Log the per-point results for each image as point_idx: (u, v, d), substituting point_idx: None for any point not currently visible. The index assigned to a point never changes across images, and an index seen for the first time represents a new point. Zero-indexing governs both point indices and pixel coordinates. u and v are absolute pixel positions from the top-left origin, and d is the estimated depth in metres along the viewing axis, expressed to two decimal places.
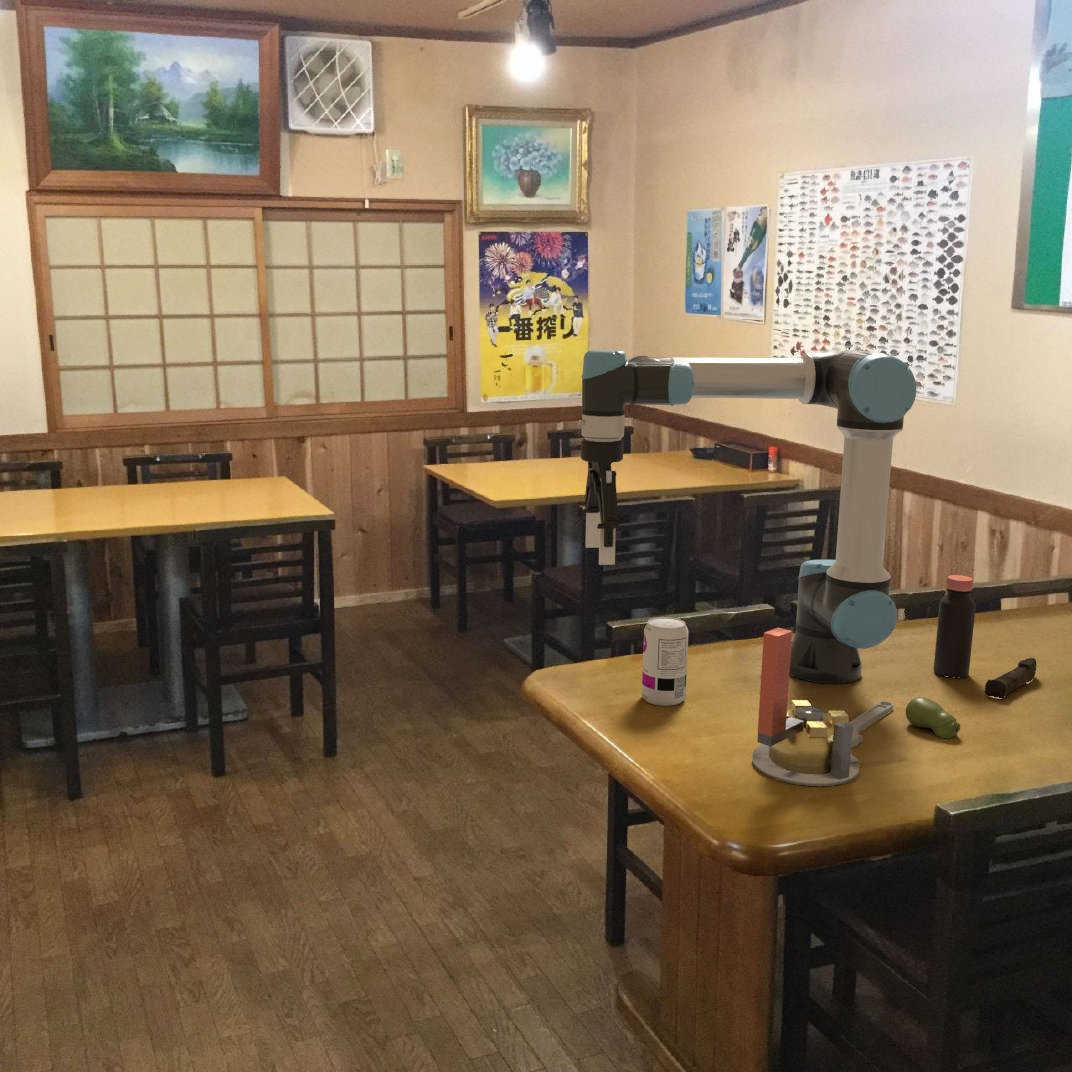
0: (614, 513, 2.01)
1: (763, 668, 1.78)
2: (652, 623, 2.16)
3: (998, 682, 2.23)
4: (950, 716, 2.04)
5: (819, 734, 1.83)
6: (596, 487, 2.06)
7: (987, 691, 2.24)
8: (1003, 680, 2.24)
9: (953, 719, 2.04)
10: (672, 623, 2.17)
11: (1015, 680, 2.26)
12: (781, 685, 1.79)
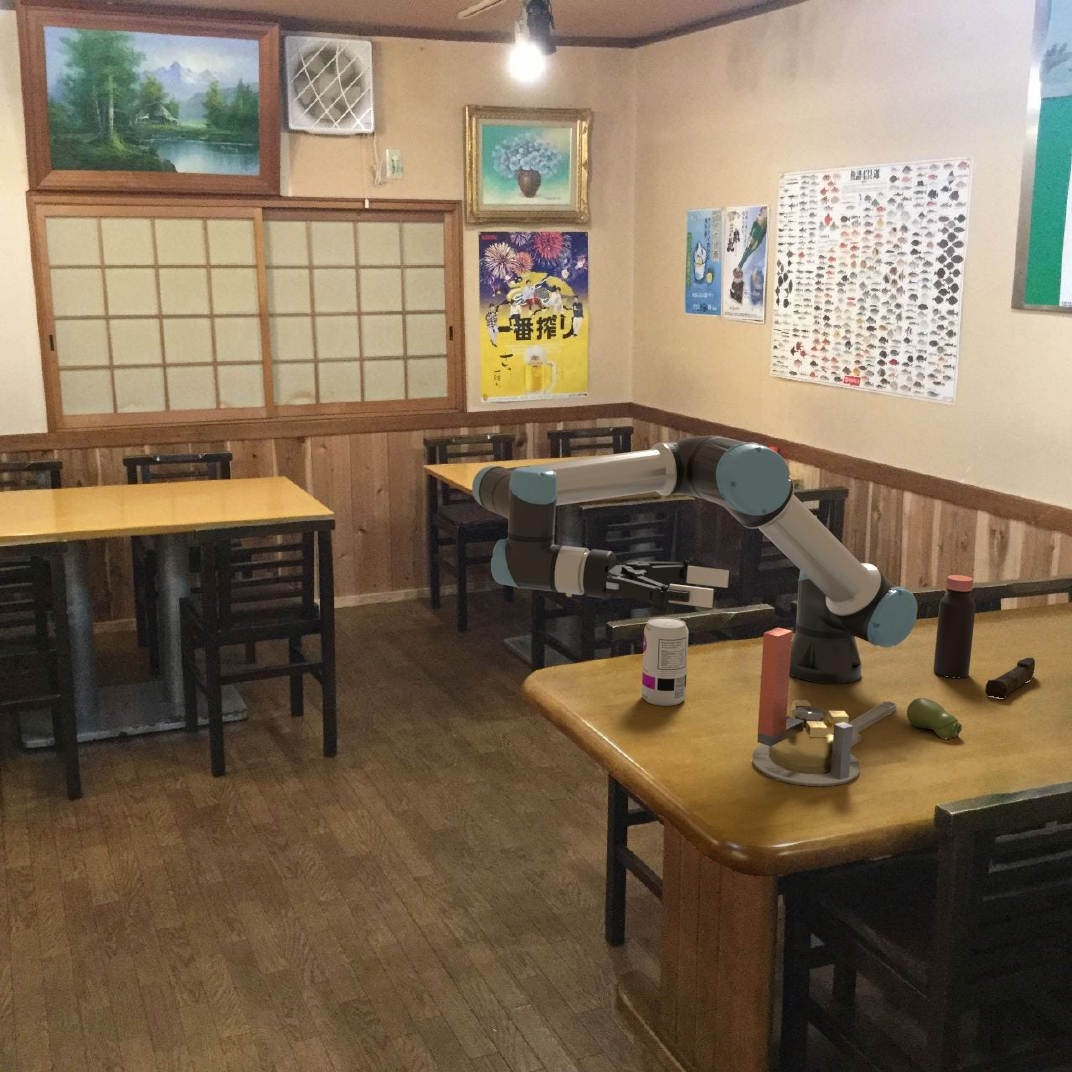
0: (645, 590, 1.74)
1: (763, 668, 1.78)
2: (652, 623, 2.16)
3: (999, 682, 2.22)
4: (951, 717, 2.04)
5: (819, 734, 1.83)
6: None
7: (988, 691, 2.24)
8: (1004, 680, 2.24)
9: (954, 720, 2.03)
10: (672, 623, 2.17)
11: (1015, 680, 2.26)
12: (781, 685, 1.79)
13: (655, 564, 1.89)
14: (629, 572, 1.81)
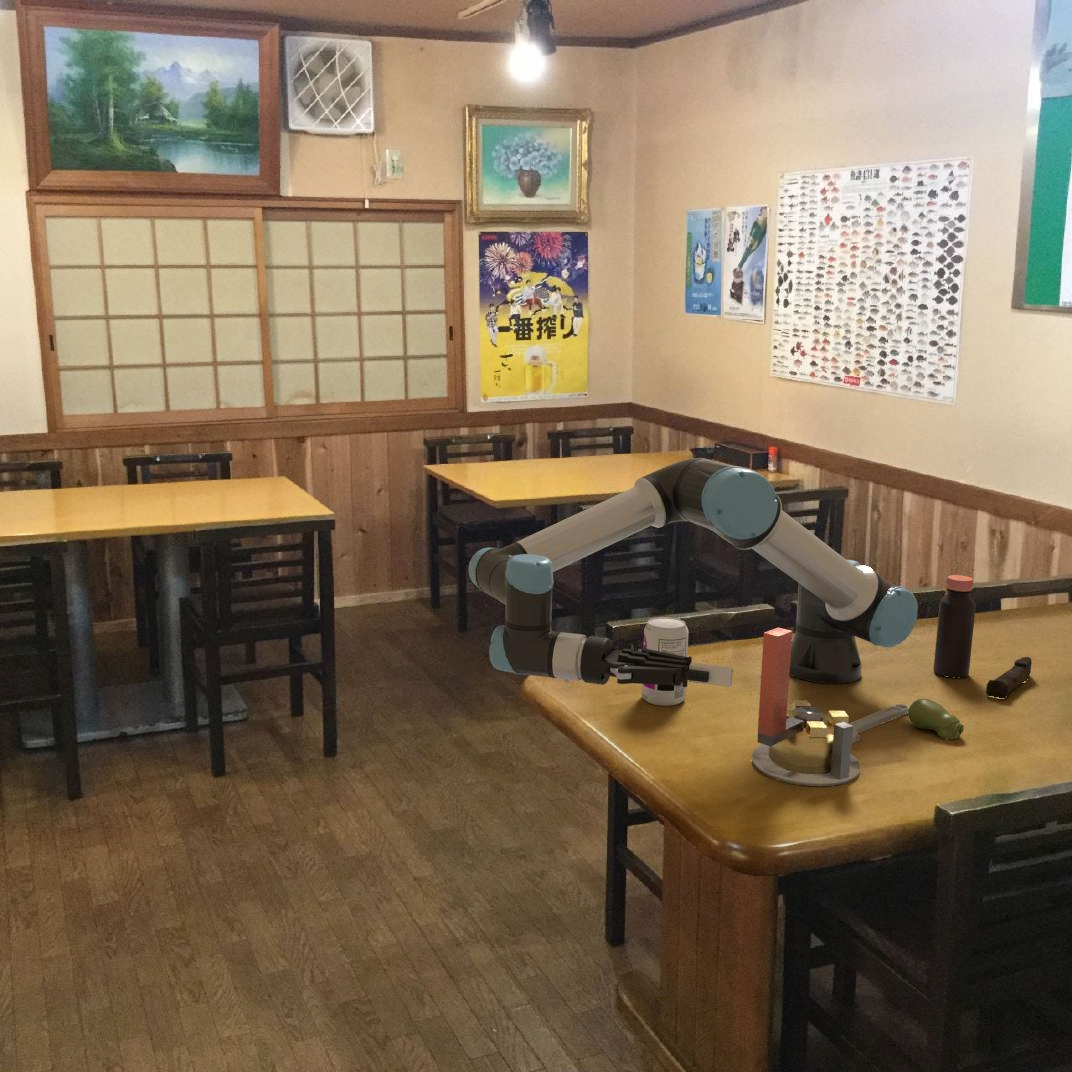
0: (667, 673, 1.80)
1: (763, 668, 1.78)
2: (652, 623, 2.16)
3: (1000, 682, 2.22)
4: (953, 717, 2.03)
5: (819, 734, 1.83)
6: None
7: (989, 691, 2.24)
8: (1004, 680, 2.24)
9: (956, 720, 2.03)
10: (672, 623, 2.17)
11: (1015, 679, 2.26)
12: (781, 685, 1.79)
13: (657, 654, 1.88)
14: (633, 659, 1.84)
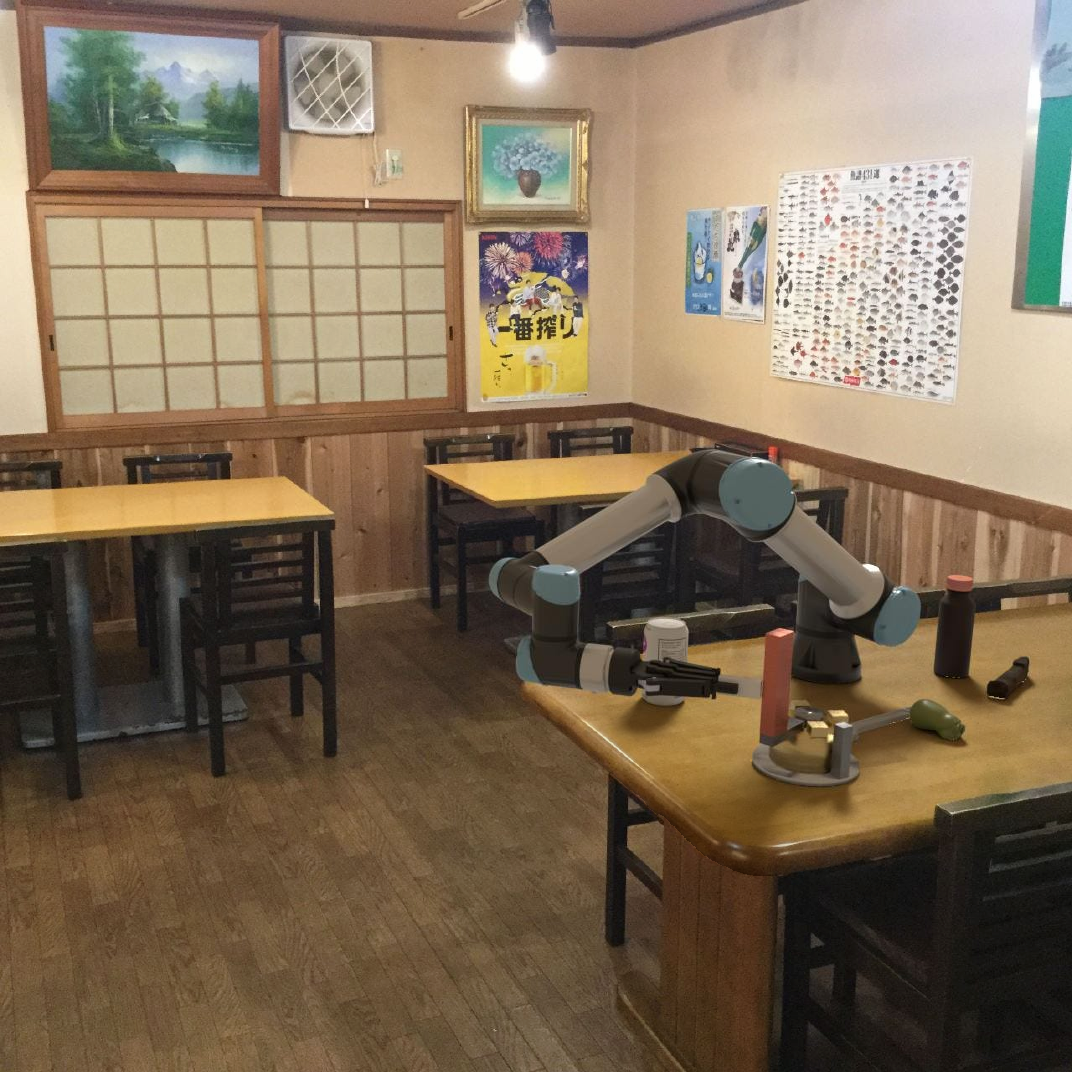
0: (696, 685, 1.78)
1: (765, 669, 1.78)
2: (652, 623, 2.16)
3: (1001, 682, 2.22)
4: (955, 718, 2.03)
5: (820, 734, 1.83)
6: None
7: (989, 692, 2.24)
8: (1004, 680, 2.24)
9: (958, 721, 2.03)
10: (672, 623, 2.17)
11: (1014, 679, 2.26)
12: (783, 685, 1.79)
13: (685, 665, 1.86)
14: (661, 671, 1.82)
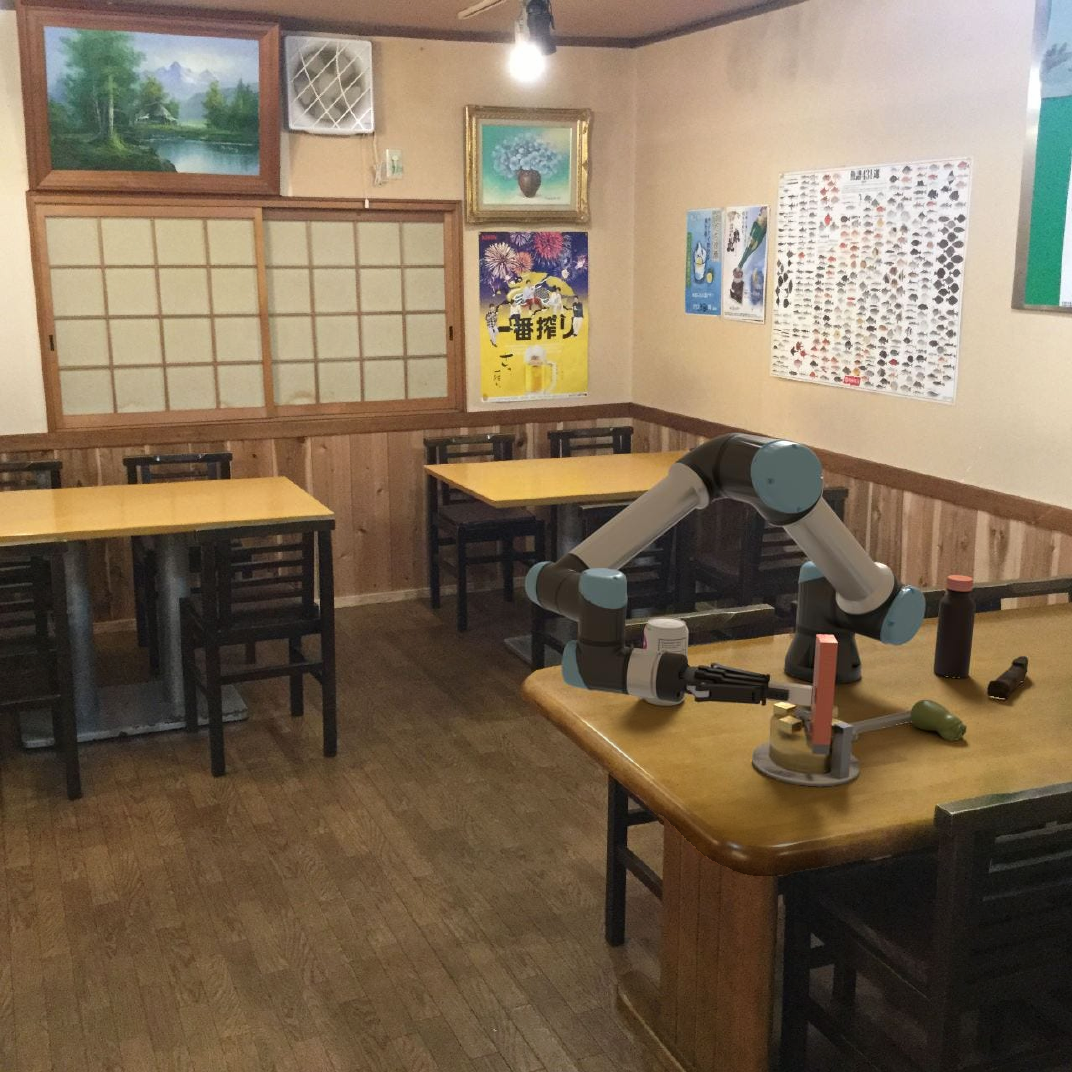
0: (746, 692, 1.76)
1: (820, 678, 1.74)
2: (652, 623, 2.16)
3: (1002, 682, 2.22)
4: (956, 718, 2.03)
5: None
6: None
7: (990, 692, 2.24)
8: (1005, 680, 2.24)
9: (959, 721, 2.03)
10: (672, 623, 2.17)
11: (1015, 679, 2.26)
12: None
13: (733, 671, 1.84)
14: (710, 676, 1.80)
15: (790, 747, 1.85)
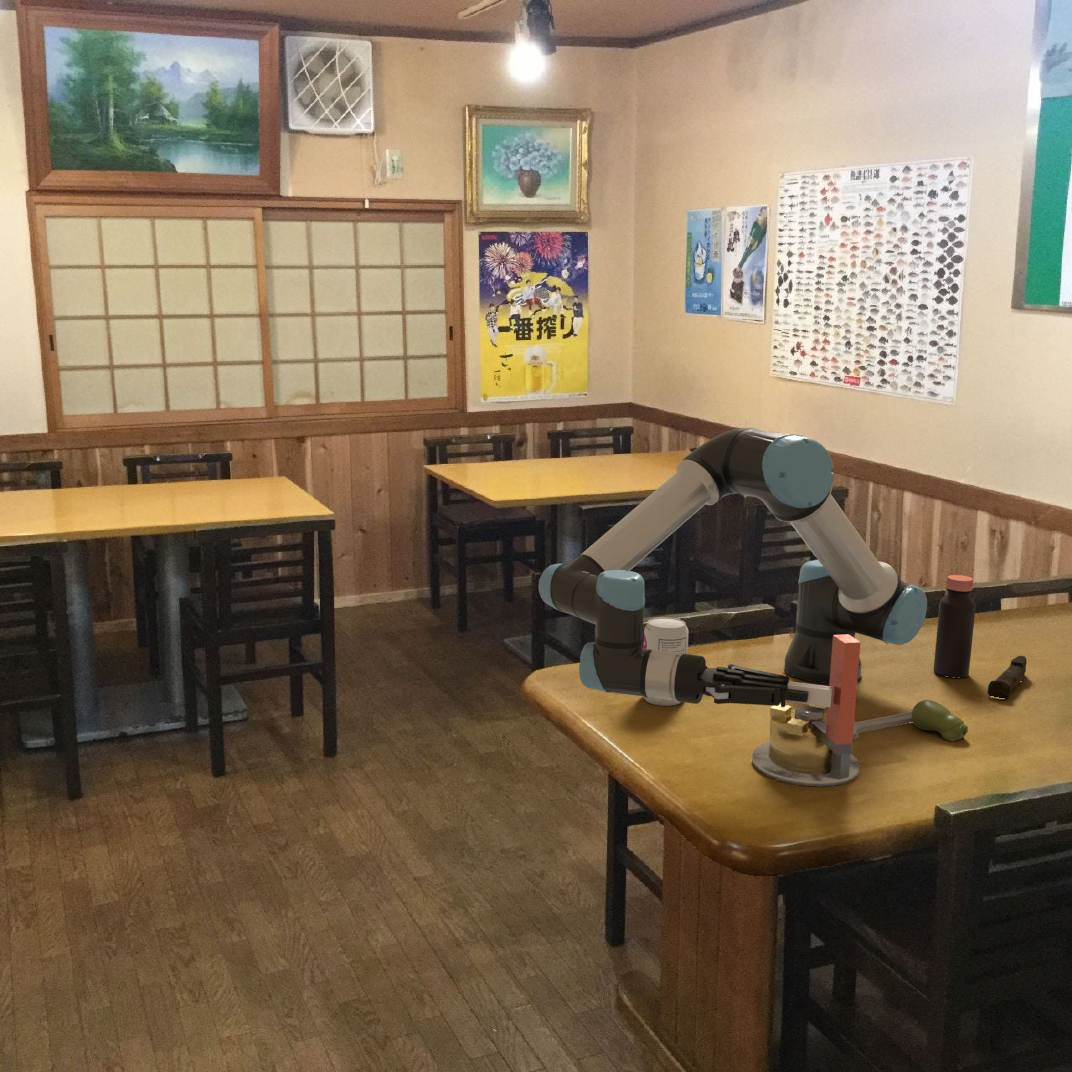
0: (765, 693, 1.75)
1: (844, 678, 1.74)
2: (652, 623, 2.16)
3: (1002, 682, 2.22)
4: (957, 719, 2.03)
5: None
6: None
7: (990, 692, 2.24)
8: (1005, 680, 2.24)
9: (960, 722, 2.02)
10: (672, 623, 2.17)
11: (1014, 679, 2.26)
12: None
13: (751, 672, 1.84)
14: (729, 678, 1.79)
15: (800, 749, 1.85)
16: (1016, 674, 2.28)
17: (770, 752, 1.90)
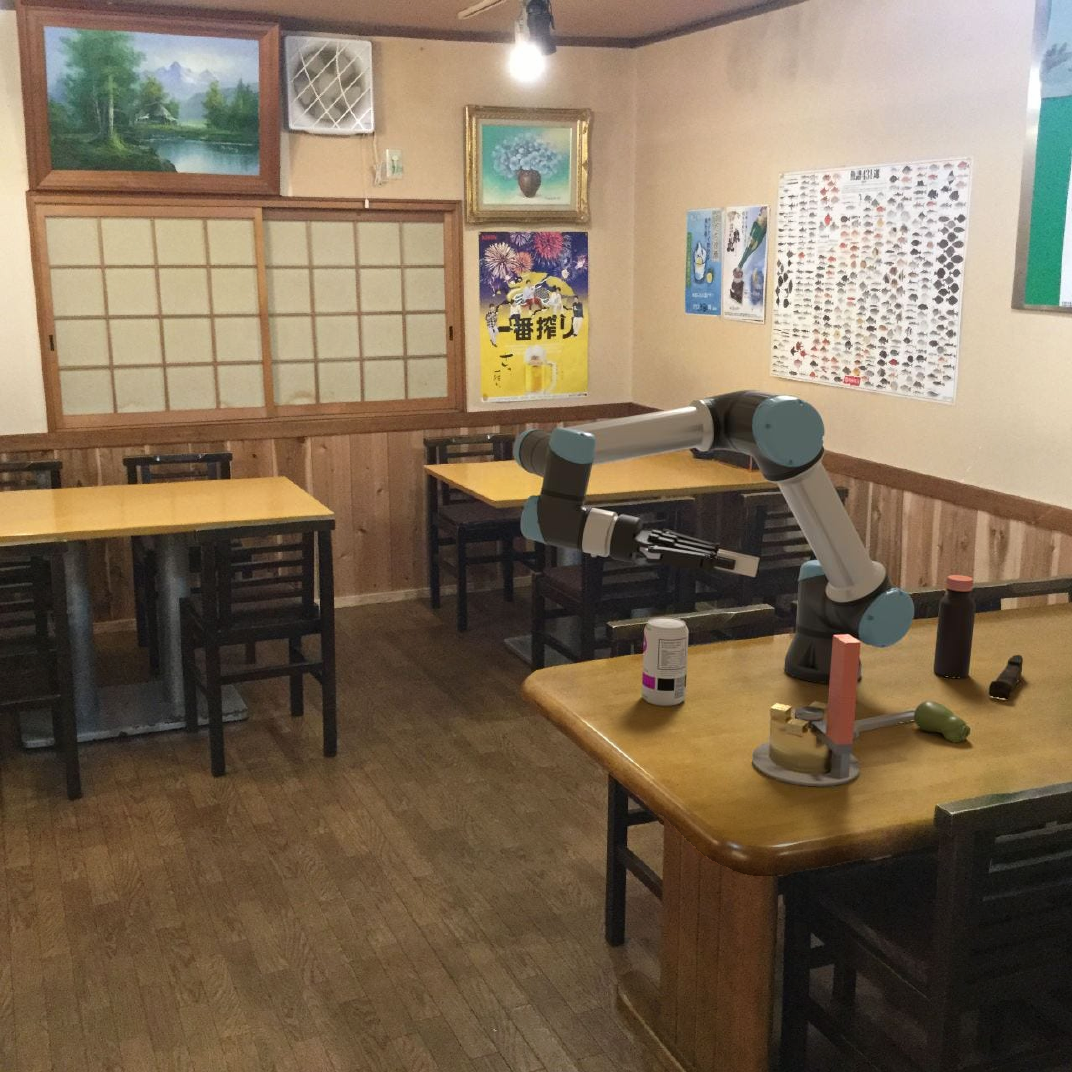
0: (695, 558, 1.84)
1: (844, 678, 1.74)
2: (652, 623, 2.16)
3: (1004, 683, 2.22)
4: (960, 720, 2.02)
5: None
6: None
7: (992, 692, 2.24)
8: (1006, 680, 2.24)
9: (963, 723, 2.02)
10: (672, 623, 2.17)
11: (1014, 679, 2.26)
12: None
13: (684, 538, 1.92)
14: (662, 540, 1.88)
15: (800, 749, 1.85)
16: (1015, 674, 2.29)
17: (770, 752, 1.90)
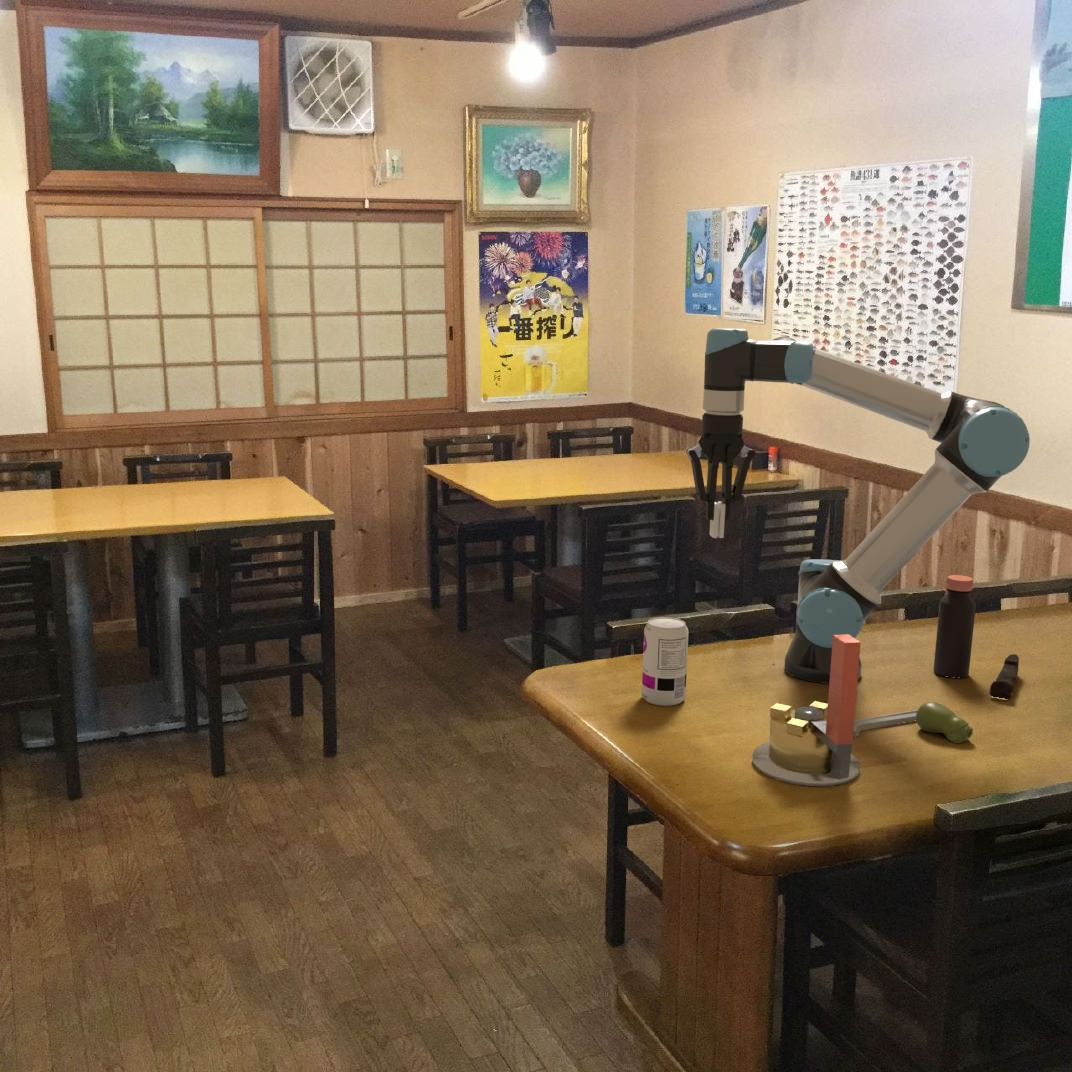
0: (697, 489, 2.20)
1: (844, 678, 1.74)
2: (652, 623, 2.16)
3: (1005, 683, 2.22)
4: (962, 721, 2.02)
5: None
6: (708, 460, 2.21)
7: (993, 693, 2.23)
8: (1006, 680, 2.24)
9: (966, 724, 2.02)
10: (672, 623, 2.17)
11: (1014, 678, 2.26)
12: None
13: (740, 471, 2.20)
14: (712, 458, 2.18)
15: (800, 749, 1.85)
16: (1013, 673, 2.29)
17: (770, 752, 1.90)
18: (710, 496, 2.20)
